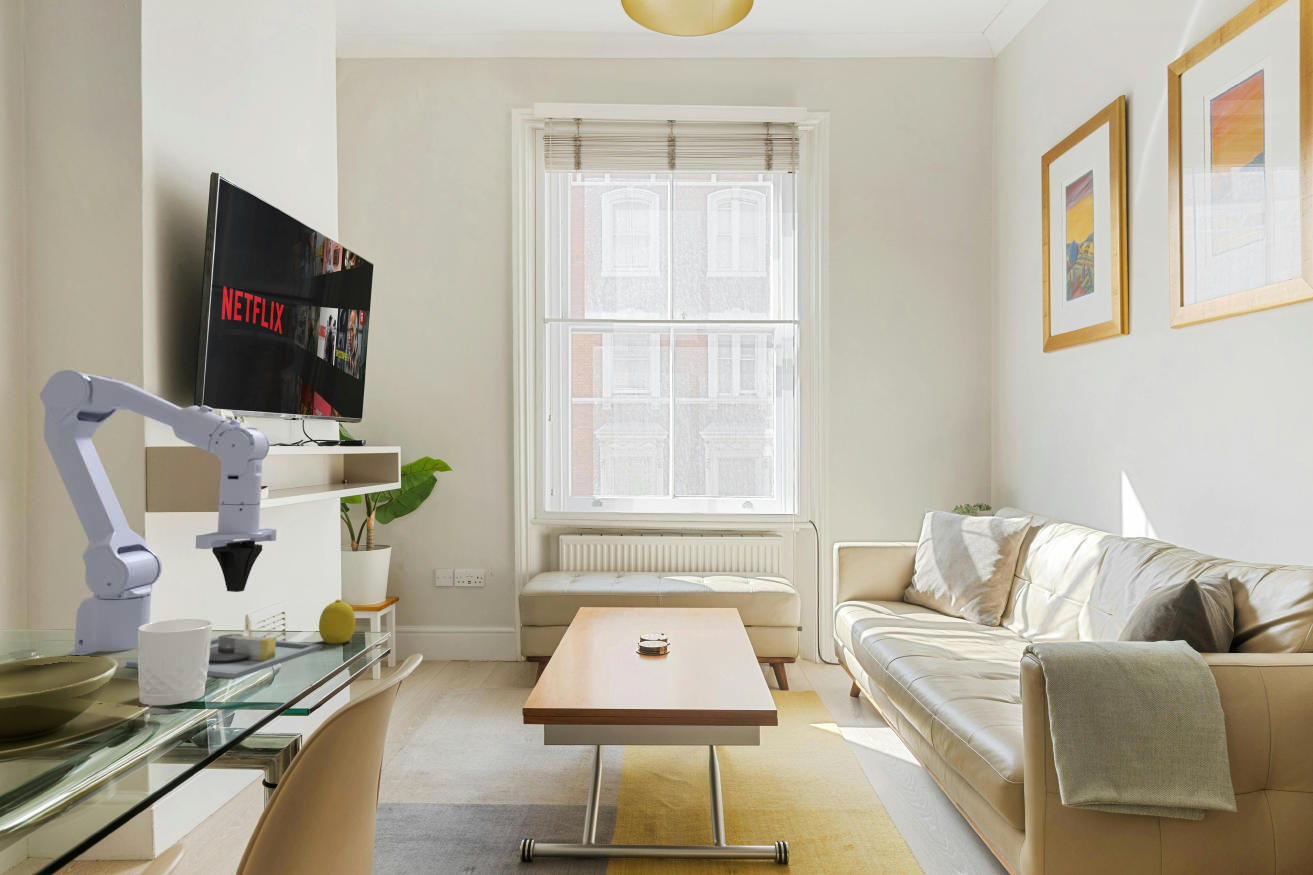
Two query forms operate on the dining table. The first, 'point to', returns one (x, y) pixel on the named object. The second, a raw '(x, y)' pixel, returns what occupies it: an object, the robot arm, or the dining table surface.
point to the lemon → (337, 623)
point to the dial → (242, 648)
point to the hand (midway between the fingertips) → (235, 590)
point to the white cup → (173, 662)
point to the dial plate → (244, 667)
